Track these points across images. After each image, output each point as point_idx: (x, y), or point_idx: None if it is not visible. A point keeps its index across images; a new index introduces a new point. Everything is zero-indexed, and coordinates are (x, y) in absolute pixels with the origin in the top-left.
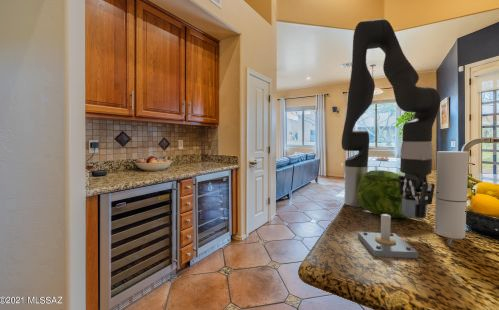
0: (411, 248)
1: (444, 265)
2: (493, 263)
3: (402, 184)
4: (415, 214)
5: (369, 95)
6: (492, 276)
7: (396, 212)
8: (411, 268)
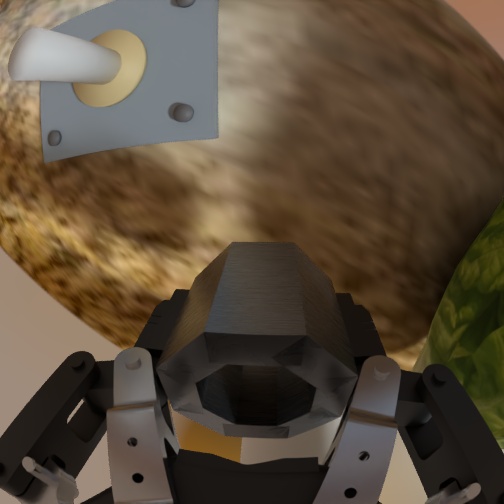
0: (62, 150)
1: (42, 213)
2: (96, 331)
3: (455, 460)
4: (186, 295)
5: None
6: (38, 282)
7: (451, 282)
8: (15, 122)
